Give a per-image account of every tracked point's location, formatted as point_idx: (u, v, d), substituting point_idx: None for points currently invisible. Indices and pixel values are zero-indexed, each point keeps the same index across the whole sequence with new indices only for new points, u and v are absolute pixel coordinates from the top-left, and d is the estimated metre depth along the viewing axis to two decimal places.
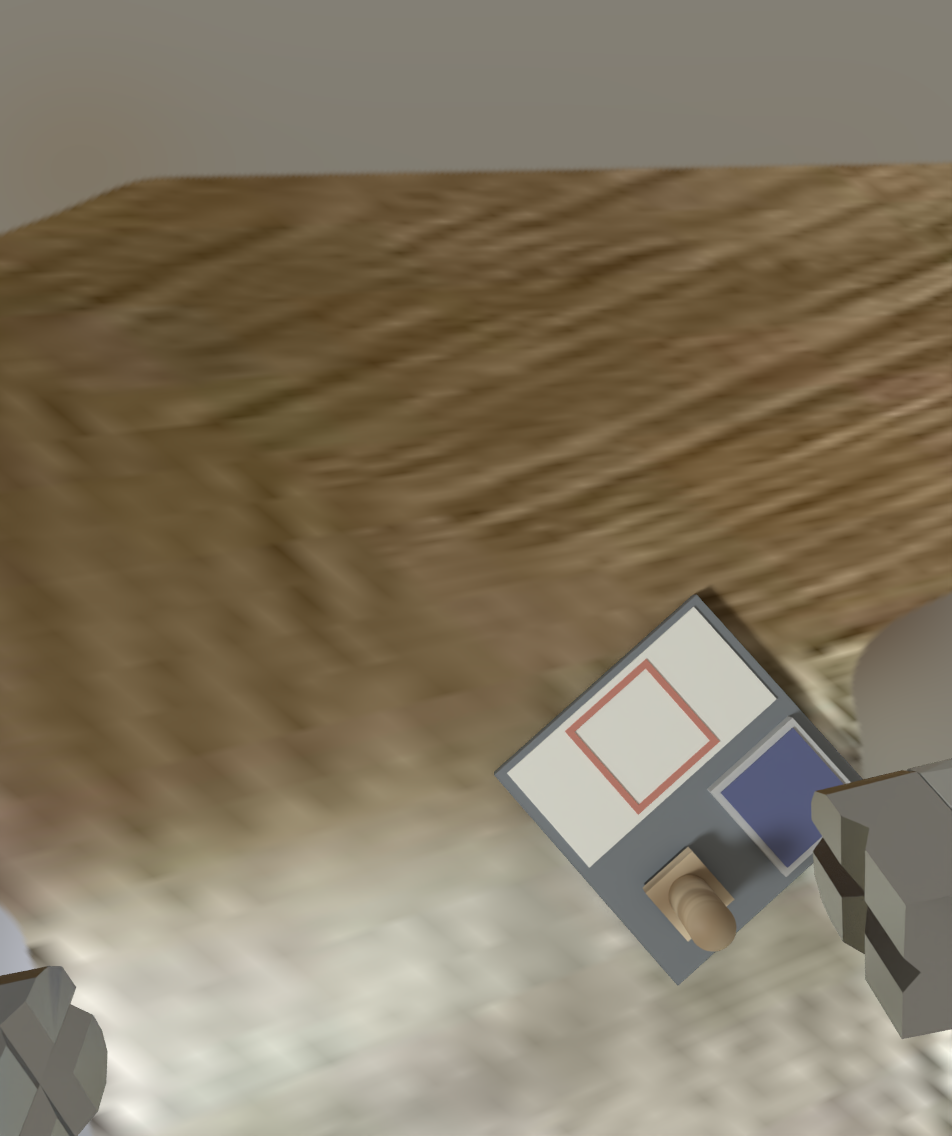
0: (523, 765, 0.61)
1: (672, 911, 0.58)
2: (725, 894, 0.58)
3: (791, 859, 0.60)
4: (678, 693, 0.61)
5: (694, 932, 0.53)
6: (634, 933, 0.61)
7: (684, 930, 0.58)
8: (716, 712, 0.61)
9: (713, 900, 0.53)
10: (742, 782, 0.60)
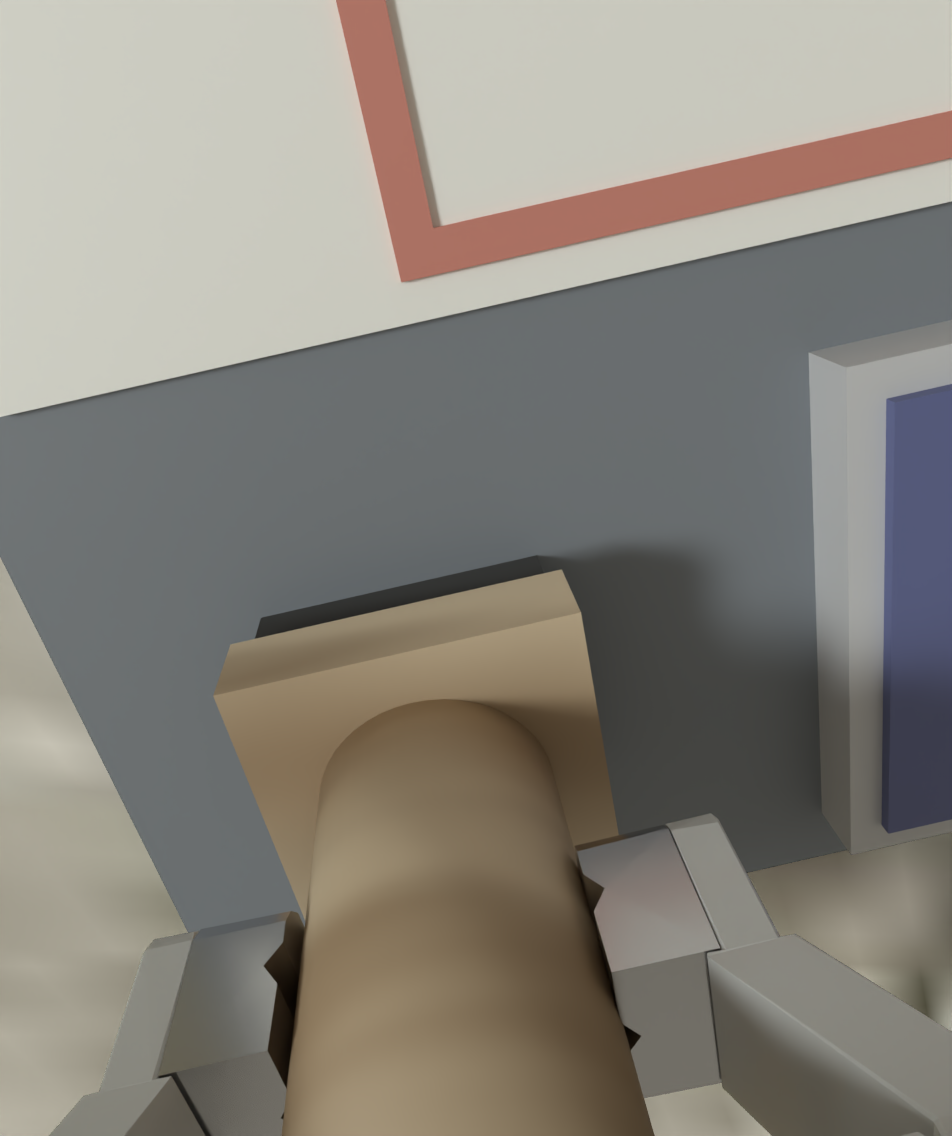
0: None
1: (314, 823, 0.11)
2: None
3: (926, 813, 0.13)
4: None
5: None
6: (122, 782, 0.13)
7: None
8: None
9: None
10: None
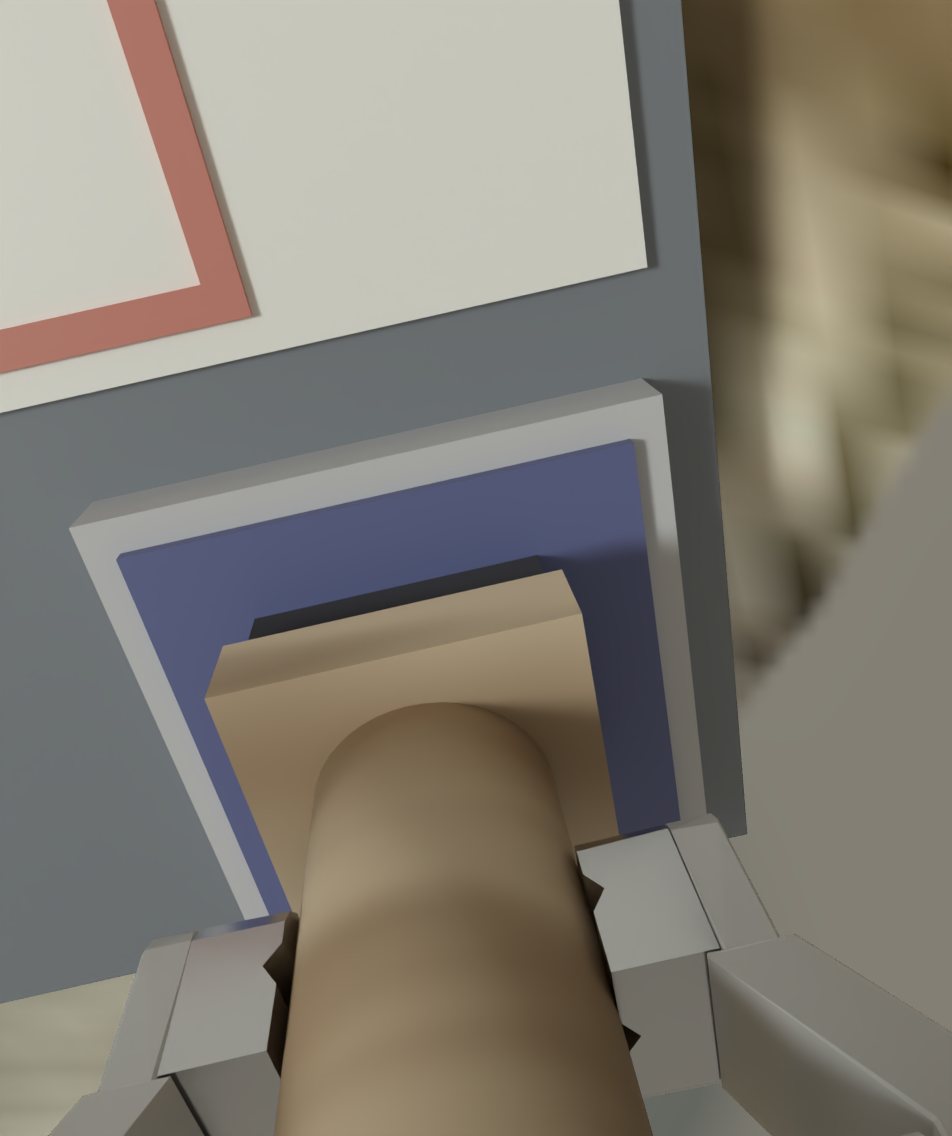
0: None
1: (308, 829, 0.10)
2: None
3: None
4: None
5: None
6: None
7: None
8: (309, 152, 0.10)
9: None
10: (248, 562, 0.11)
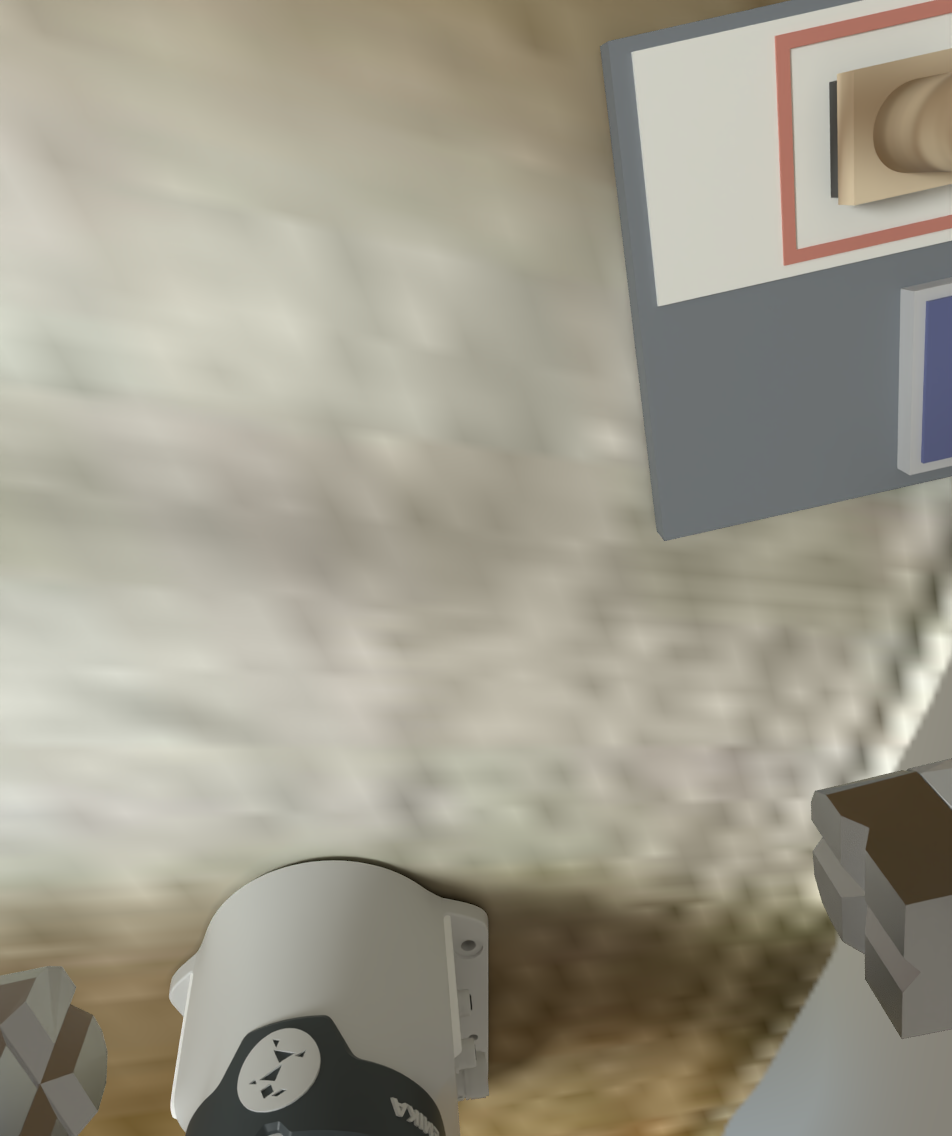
0: (668, 55, 0.30)
1: (869, 135, 0.30)
2: None
3: (937, 455, 0.37)
4: None
5: None
6: (655, 441, 0.37)
7: (863, 182, 0.31)
8: None
9: None
10: None
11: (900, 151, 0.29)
